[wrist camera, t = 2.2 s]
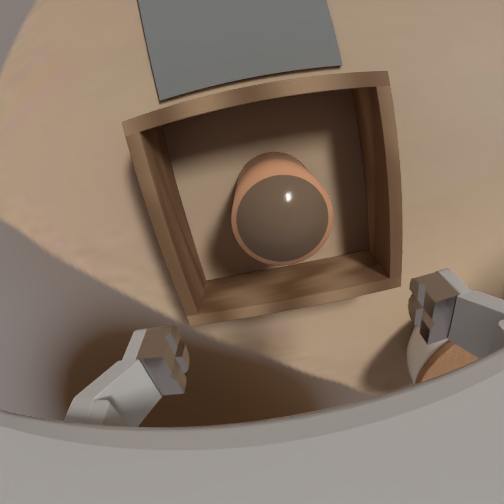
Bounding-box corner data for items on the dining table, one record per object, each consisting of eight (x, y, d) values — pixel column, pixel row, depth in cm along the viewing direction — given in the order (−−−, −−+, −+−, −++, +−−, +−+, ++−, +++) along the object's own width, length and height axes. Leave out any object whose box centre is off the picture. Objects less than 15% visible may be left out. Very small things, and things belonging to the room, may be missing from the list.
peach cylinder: (305, 145, 23) (326, 161, 16) (316, 216, 25) (337, 256, 19) (228, 160, 23) (220, 181, 17) (245, 230, 26) (243, 273, 20)
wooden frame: (361, 76, 20) (387, 71, 16) (379, 257, 27) (400, 286, 23) (146, 118, 22) (121, 122, 17) (198, 291, 28) (190, 326, 24)
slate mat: (305, -57, 14) (306, -59, 14) (341, 65, 20) (342, 65, 19) (135, -23, 16) (133, -24, 15) (160, 100, 21) (159, 100, 21)
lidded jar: (474, 325, 32) (509, 373, 23) (408, 370, 35) (433, 426, 26) (459, 270, 28) (507, 322, 19) (380, 325, 31) (411, 391, 22)
